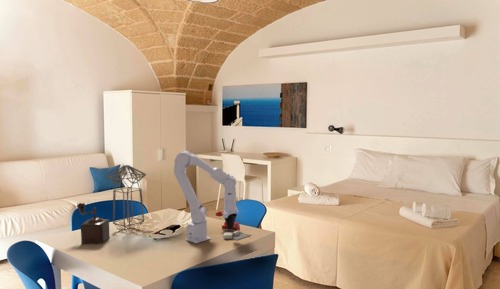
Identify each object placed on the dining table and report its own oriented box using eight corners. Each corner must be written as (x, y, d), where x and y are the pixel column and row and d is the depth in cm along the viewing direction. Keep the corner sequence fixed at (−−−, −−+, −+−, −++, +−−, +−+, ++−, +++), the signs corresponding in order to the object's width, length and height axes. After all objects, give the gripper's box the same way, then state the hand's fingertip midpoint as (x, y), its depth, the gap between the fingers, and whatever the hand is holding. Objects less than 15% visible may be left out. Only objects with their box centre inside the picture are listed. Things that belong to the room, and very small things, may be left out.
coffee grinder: (111, 237, 202) (109, 201, 200) (102, 244, 191) (101, 206, 189) (80, 237, 202) (79, 201, 201) (70, 244, 191) (68, 206, 190)
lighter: (223, 235, 197) (225, 230, 205) (223, 238, 197) (225, 233, 205) (237, 235, 196) (239, 230, 204) (237, 238, 196) (239, 233, 204)
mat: (237, 240, 195) (237, 239, 195) (222, 236, 202) (222, 235, 202) (250, 235, 202) (250, 235, 202) (236, 231, 209) (236, 231, 209)
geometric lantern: (150, 229, 215) (148, 164, 212) (126, 236, 202) (124, 167, 199) (130, 224, 224) (128, 162, 221) (106, 231, 210) (104, 165, 208)
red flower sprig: (237, 232, 207) (236, 213, 206) (216, 229, 214) (215, 211, 213) (241, 230, 209) (240, 212, 209) (219, 228, 217) (219, 210, 216)
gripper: (232, 205, 186) (233, 233, 188) (242, 198, 200) (242, 225, 201) (218, 204, 189) (219, 232, 190) (229, 198, 202) (229, 224, 203)
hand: (230, 228), depth 196 cm, fingers closed
